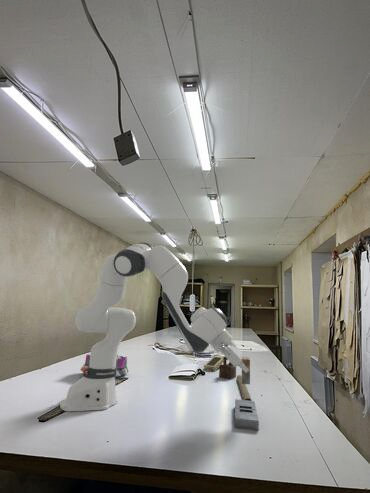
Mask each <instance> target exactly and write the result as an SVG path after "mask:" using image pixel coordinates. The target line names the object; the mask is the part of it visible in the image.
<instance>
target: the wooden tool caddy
mask: <svg viewBox="0 0 370 493" xmlns="http://www.w3.org/2000/svg"><path fill="white" fill-rule="evenodd" d="M223 359H224V362H223V363H222V364H221V365H220V366H219V368H218V369H219V371H218V377H219V378H223V379H226V380H233V379H235V378H237V367H234V366H233V365H232V364H231V362H230V361H229V360H228V359H227V358H226V356H223ZM227 361H228V362H229V363H227Z"/></svg>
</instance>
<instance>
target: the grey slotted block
mask: <svg viewBox="0 0 370 493" xmlns="http://www.w3.org/2000/svg"><path fill="white" fill-rule="evenodd" d="M234 411H235V412H234V417H235V418H234V421H235V427H234V428H236V429H243V430H250V431H251V430H252V431H259V428H260V426H259V425H260V421H259V416H258V410H257V407H256V402H255V400H252V401H248V400H243V399H235V400H234Z"/></svg>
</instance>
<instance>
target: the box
mask: <svg viewBox="0 0 370 493" xmlns="http://www.w3.org/2000/svg"><path fill="white" fill-rule="evenodd" d="M223 357H224V356H223ZM223 357H222V356H212V357H211V358H210V359H209V360H208V361H207V362H206V363H205V364H204V365H203V369H204V371H206V372H207V373H212V372H216V371H217V370H218V369H219V366H220V365H223V362H224V359H223Z"/></svg>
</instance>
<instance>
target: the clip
mask: <svg viewBox="0 0 370 493" xmlns="http://www.w3.org/2000/svg"><path fill="white" fill-rule="evenodd" d="M250 358H251V357H249V356H242V362H243V363H244V364H245V366H247V368H248V369H249V371H248V372H247V373H245V372H244V371H243V370H242V369H241V376H242V384H246V385H251V359H250Z"/></svg>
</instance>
